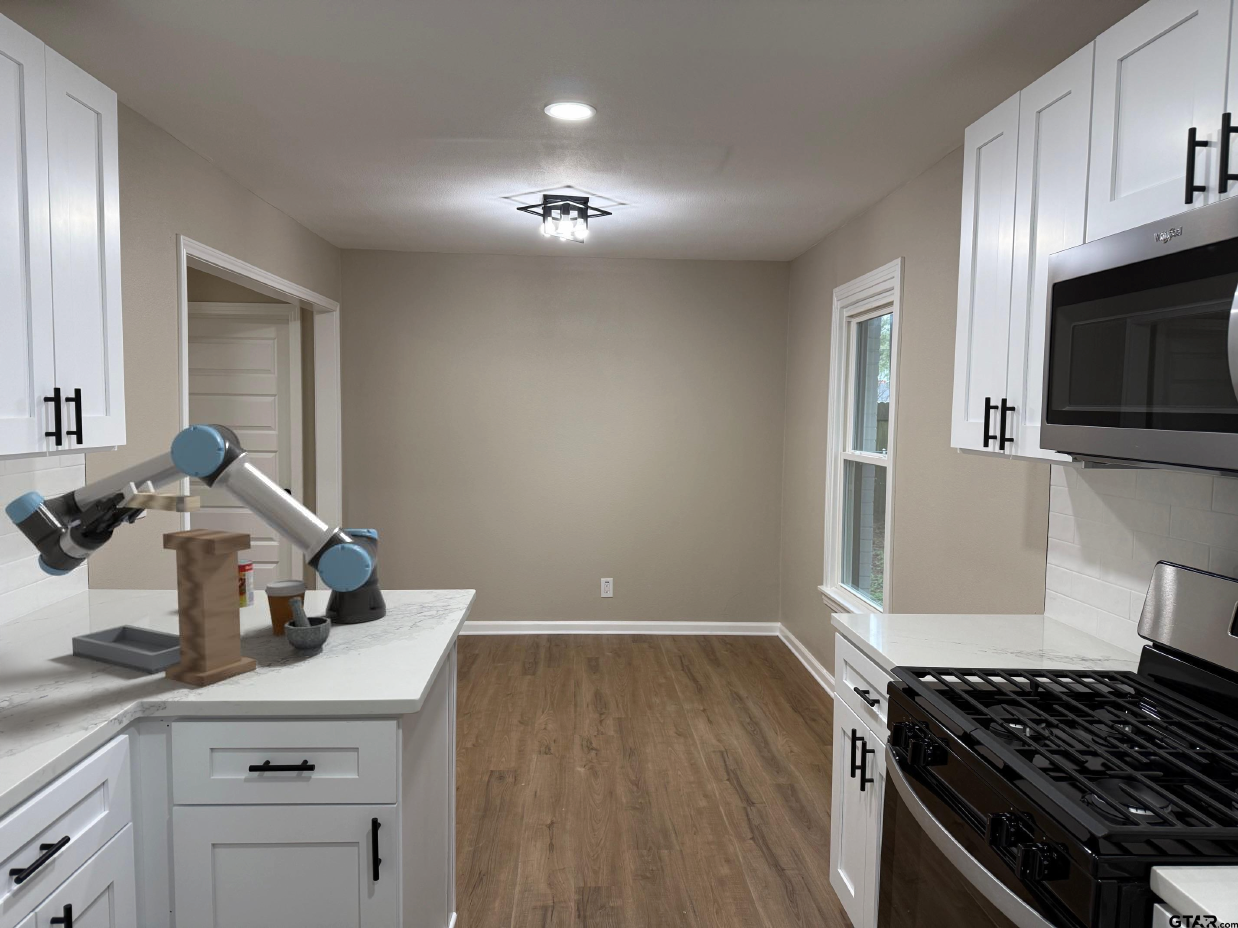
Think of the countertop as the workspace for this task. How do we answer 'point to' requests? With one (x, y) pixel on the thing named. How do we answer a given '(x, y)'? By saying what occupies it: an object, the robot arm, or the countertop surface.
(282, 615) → the disposable coffee cup
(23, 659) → the countertop surface
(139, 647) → the tray
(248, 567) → the canned food
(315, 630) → the mortar and pestle
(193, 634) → the post stand
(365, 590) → the robot arm
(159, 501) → the bar
